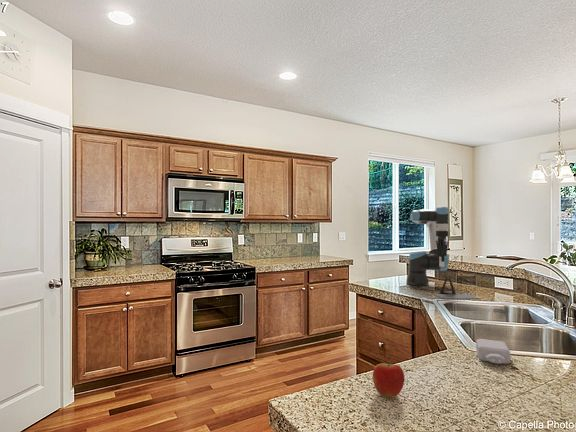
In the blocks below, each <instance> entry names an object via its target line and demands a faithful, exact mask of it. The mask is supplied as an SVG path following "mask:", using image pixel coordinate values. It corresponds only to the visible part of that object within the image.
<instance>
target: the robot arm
mask: <svg viewBox="0 0 576 432" xmlns="http://www.w3.org/2000/svg"><path fill="white" fill-rule="evenodd" d="M449 213H450V212H449V206H448V207H447V206H437V207H436V208H435V209H416V210H415V209H413V210H411V213H410V215H409V218H410V219H409V220H410V221H411V222H413V223H415V224H419V225H426V227H427V228H428V234H429V245H430V246H429V247H430V251H429V252H428V253H427V251H414V252H410V253H409V255H408V261H409V263H408V264H409V265H408V274H407V277H406V285H410V286H418V287H420V286H421V287H422V286H423V287H426V286H429V284H430V282H429V278H428V275H427V271H440V272H442V271H447V270H448V268H449V260H450V254H448V247H449V241H447V237H449Z"/></svg>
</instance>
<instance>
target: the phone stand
mask: <svg viewBox="0 0 576 432" xmlns="http://www.w3.org/2000/svg"><path fill="white" fill-rule="evenodd" d="M447 275H448V276H449V277H447ZM451 277H452V275H451V273H446V275H445V280H444V282H443V284H442V287H441V290H440V292H439V294H457V292H456V289H455V286H454V284H453V281H452V278H451ZM447 281H448V282H449V285H450V289H451V291H445V288H446V284H447Z"/></svg>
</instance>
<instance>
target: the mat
mask: <svg viewBox="0 0 576 432" xmlns="http://www.w3.org/2000/svg"><path fill="white" fill-rule="evenodd" d="M433 296H435V297H438V298H439V299H442V300H480V298H479V297H477V296H475V295H471V294H469V293H467V294H466V293H463V294H462V293H456V294H446V293H436V294H435V293H434V294H433Z"/></svg>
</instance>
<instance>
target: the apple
mask: <svg viewBox="0 0 576 432" xmlns="http://www.w3.org/2000/svg"><path fill="white" fill-rule="evenodd" d="M387 358H388V360H390V356H387ZM372 371H373V372H372V381H373V382H372V383H373V384H374V388H375V389H376V391H377V393H378V394H379V395H381V396H382V397H383V398H387V399H391V398H395V397H396V396H398V395H399V394H400V393H401V392H402V389H403V387H404V385H405V374H404V370H403V369H402V367H401V366H400V365H399V364H392V363H384V362H382V363H378V364H376V366H375V367H374V368H373V370H372Z"/></svg>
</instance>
